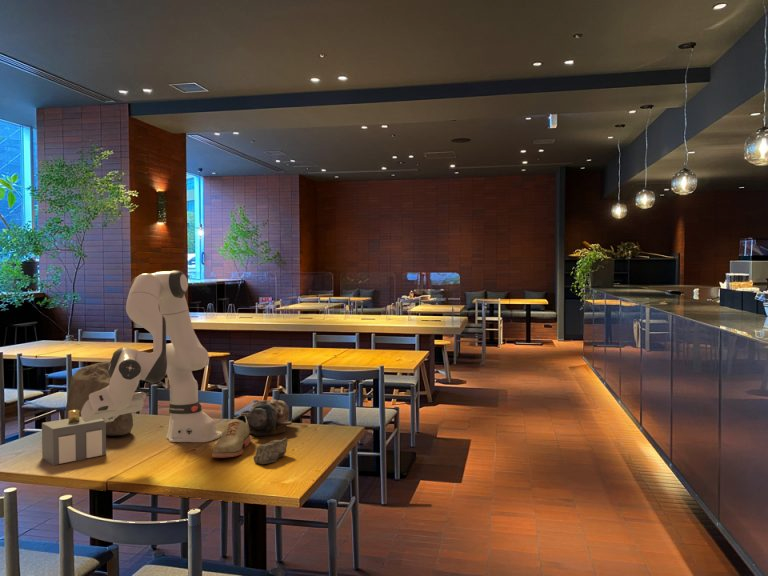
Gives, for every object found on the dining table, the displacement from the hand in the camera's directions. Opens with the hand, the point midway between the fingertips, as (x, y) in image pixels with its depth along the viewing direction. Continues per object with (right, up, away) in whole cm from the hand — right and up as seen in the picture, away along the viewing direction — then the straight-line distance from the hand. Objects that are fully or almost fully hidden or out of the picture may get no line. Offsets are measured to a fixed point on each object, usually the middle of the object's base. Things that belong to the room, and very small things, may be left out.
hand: (108, 420), depth 212 cm
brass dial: (-18, -3, +11) cm, 21 cm away
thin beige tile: (-20, -15, +7) cm, 26 cm away
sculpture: (+47, -15, +45) cm, 67 cm away
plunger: (-14, -15, +13) cm, 24 cm away
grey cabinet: (-18, -16, +11) cm, 26 cm away
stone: (-23, -15, +48) cm, 56 cm away
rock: (+56, -16, +6) cm, 59 cm away
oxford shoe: (+39, -16, +16) cm, 45 cm away
